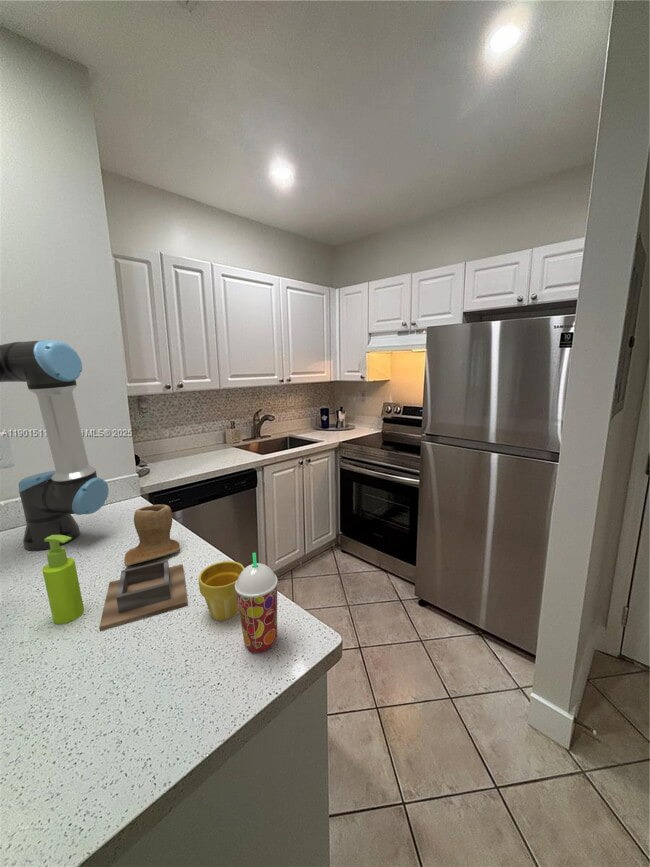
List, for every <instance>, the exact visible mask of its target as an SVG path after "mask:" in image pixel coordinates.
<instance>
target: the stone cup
mask: <svg viewBox="0 0 650 867" xmlns="http://www.w3.org/2000/svg"><path fill="white" fill-rule="evenodd" d="M134 511H135V512H134V515H133V524H134V529H135V531H136V533H137V536H138V540H139V542H138V545H137V546H135V547H133V548H129V549H128V550H127V551H126V552H125V555H124V559H123V561H124V566H125V567H129V566H132V565H136V564H140V563H144V562H148V561H152V560H155V559H159V558H162V557H165V556H168V555H171V554H174V553H176V552H178V551H179V550H180V548H181V547H180V543H179V541H177V540H175V539H172V538H171V529H172V525H173V512H172V508H171V507H170V506H169V505H167V504H153V505H152V504H151V505H147V506H142V507H139V508H138V509H136V510H134Z"/></svg>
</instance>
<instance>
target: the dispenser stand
mask: <svg viewBox="0 0 650 867" xmlns="http://www.w3.org/2000/svg"><path fill="white" fill-rule="evenodd" d="M184 572H185V571H184V564H178V565H173V566H170V565H169V560H168V559H166V560H161V561H157V562H153V563H147V564H144V565H141V566H140V565H139V566H135V567H131V568H128V569H127V568H126V569H123V570H121V571H120V577H119V579H116V580H112V581H109V584H108V587H107V593H106V596H105V599H104V600H105V601H104V605H103V610H102V614H101V618H100V622H99V626H98V627H99V628H98V629H99V632H101V631H105V630H108V629H109V630H110V629H111V628H115V627H118V626H122V625H125V624H130V623H132V622H136V621H139V619H140V620H143V619H145V618H149V617H153V616H157V615H160V614H163V613H166V612H170V611H174V610H177V609H180V608H184V607H186V606H187V607H188V600H187V599H188V598H187V590H186V582H185V581H186V580H185V573H184ZM142 618H143V619H142Z"/></svg>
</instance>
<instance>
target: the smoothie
mask: <svg viewBox="0 0 650 867" xmlns="http://www.w3.org/2000/svg"><path fill="white" fill-rule="evenodd" d="M244 568H245V569H244V570H243V571H242V572H241V573H240V575H239V577H238V580H237V581H236V583H235V590H236V596H237V602H238V608H239V612H238V613H239V618H240V620H239V621H240V626H241V631H242V637H243V642H244V644H245V645H246V647H247V648H248V650H250V651H252V652H253V653H262V652H267V651H268V650H269V649H271V648H272V646H274V644H275V642H276V640H277V638H278V580H279V579H278V577H277V575H276V573H275V572H274V571H273V569H271V568H270V567H269V566H268V565H266V564H264V563H260V562H257V552H252V564H250V565H247V566H246V567H244Z"/></svg>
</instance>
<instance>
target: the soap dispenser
mask: <svg viewBox="0 0 650 867" xmlns="http://www.w3.org/2000/svg"><path fill="white" fill-rule="evenodd" d="M71 539H72V538H71V537H68V536H65V535H51V536H49V537H47V538H45V539H44V541H49V544H50V549H48V551H47V552H46V557H47V558H46V559H47V562H48V563H47V564H45V565H44V566H43V567H42V569H41V571H42V575H43V579H44V583H45V588H46V592H47V598H48V602H49V606H50V612H51V616H52V621H53V623H54V624H56V625H65V624H68V623H71V622H73V621H75V620H77V619H79V618H80V616H82V615H83V613H84V611H85V608H84V603H83V597H82V592H81V587H80V582H79V577H78V571H77V567H76V561H75V558H73V557H68V556H67V552H66V551H67V549H66V547H65V546H61V545H60V544H59V542H60V543H65V542H67V541H69V540H71Z"/></svg>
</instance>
